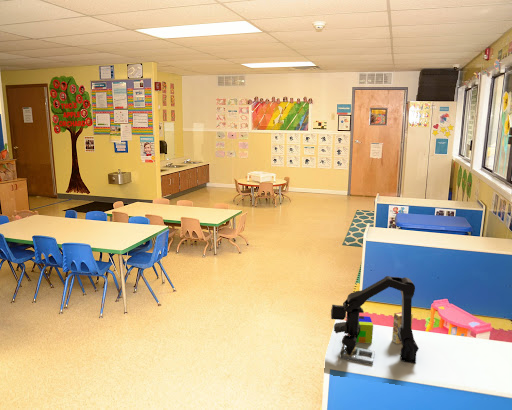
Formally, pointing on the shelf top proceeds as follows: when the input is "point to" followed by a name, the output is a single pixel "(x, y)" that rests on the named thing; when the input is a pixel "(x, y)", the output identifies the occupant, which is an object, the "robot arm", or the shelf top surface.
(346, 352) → the gold metal cylinder
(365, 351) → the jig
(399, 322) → the candy box
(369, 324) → the puzzle toy
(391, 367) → the shelf top surface
